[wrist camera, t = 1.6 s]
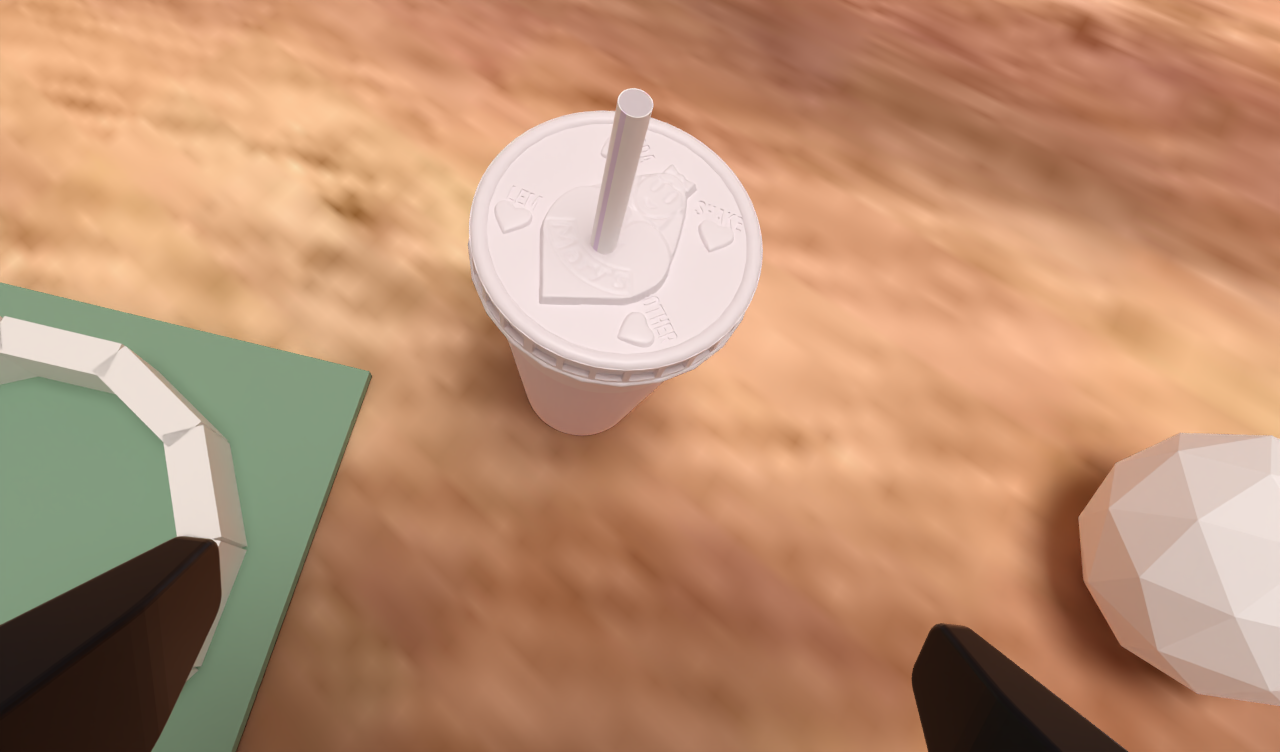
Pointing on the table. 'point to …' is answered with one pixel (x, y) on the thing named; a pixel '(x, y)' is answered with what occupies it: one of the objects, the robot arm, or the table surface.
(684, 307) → the smoothie
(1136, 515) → the geometric ball
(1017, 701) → the robot arm
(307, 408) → the green square ring tray
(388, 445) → the table surface
